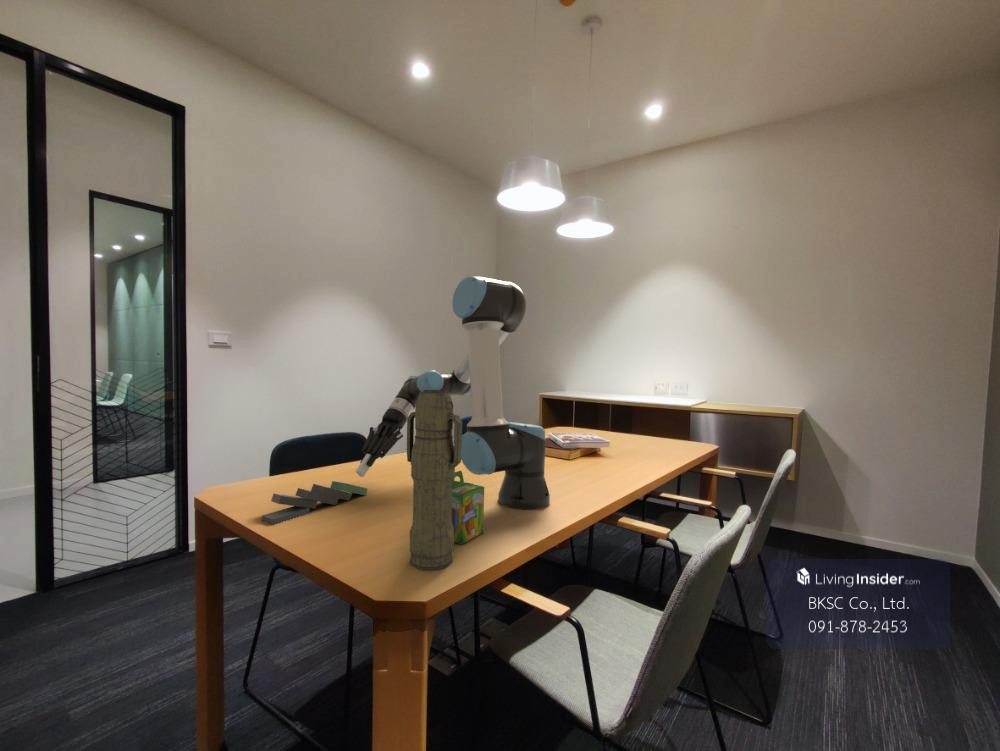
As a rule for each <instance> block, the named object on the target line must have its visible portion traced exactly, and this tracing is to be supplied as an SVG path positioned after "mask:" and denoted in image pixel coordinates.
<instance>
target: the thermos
mask: <svg viewBox="0 0 1000 751" xmlns="http://www.w3.org/2000/svg"><path fill="white" fill-rule="evenodd" d="M414 410H415V411H413V412H412V413H411V414H410V415H409V417H408V418H407V421H406V458H407V459H406V460H407V462H408V463H410V465H411V466H410V468H411V472H410V476H411V478H412V481H413V485H412V486H413V487H412V489H413V490H412V491H413V492H412V524H411V526H410V529H409V550H408V551H409V552H410V558H409V563H410V566H411V567H412V568H414V569H417V570H419V571H428V572H433V571H440V570H443V569H447V567H450V566H451V564H453V560H454V558H453V557H454V556H453V551H454V548H455V547H454V546H455V544H454V543H455V542H454V527H453V524H452V481H453V478H454V476H455V472H456V467H457V466H459V465H460V464H461V463H462V460H461V442H462V435H463V421H462V419H461V418H460V415H458V414H455V413H454V404H453V399H452V395H450V393H449V392H446V390H423V392H420V393H419V396H418V399H417V402H416V407H415V408H414ZM414 428H415V429H414ZM453 428H454V432H453V433H454V434H453V433H452V430H453ZM414 430H415V432H414ZM414 434H415V435H414ZM453 437H454V438H453ZM453 440H454V441H453Z"/></svg>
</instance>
